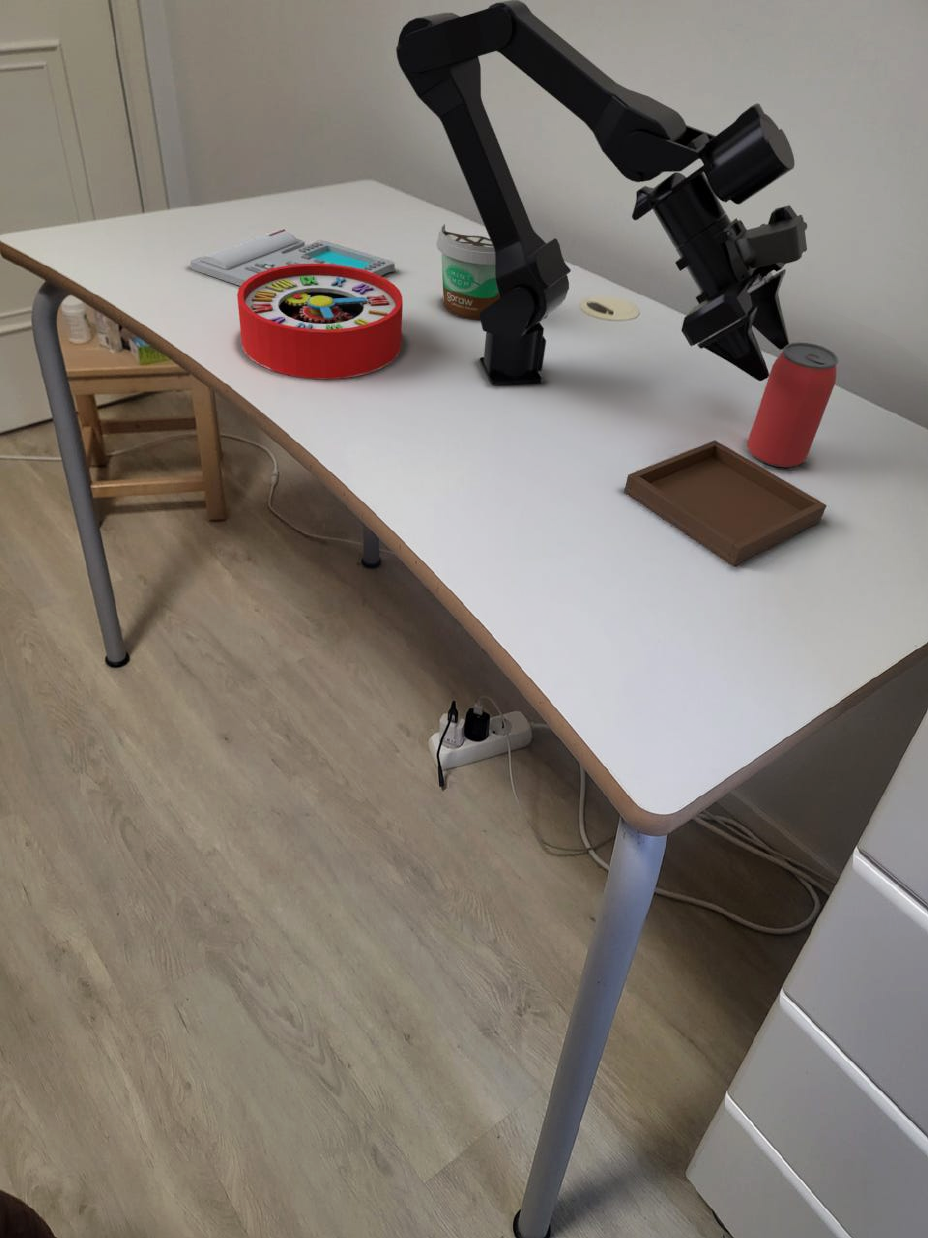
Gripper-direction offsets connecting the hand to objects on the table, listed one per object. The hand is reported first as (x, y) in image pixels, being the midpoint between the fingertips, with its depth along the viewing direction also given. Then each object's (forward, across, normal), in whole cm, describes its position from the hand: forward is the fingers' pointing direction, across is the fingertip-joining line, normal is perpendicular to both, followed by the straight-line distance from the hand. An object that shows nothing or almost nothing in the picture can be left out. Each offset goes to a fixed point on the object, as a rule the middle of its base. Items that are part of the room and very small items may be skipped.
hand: (775, 362), depth 93 cm
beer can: (+10, 0, +5) cm, 11 cm away
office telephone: (-42, +10, +56) cm, 71 cm away
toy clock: (-31, -7, +45) cm, 55 cm away
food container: (-23, +13, +37) cm, 46 cm away
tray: (+8, -14, +7) cm, 17 cm away
